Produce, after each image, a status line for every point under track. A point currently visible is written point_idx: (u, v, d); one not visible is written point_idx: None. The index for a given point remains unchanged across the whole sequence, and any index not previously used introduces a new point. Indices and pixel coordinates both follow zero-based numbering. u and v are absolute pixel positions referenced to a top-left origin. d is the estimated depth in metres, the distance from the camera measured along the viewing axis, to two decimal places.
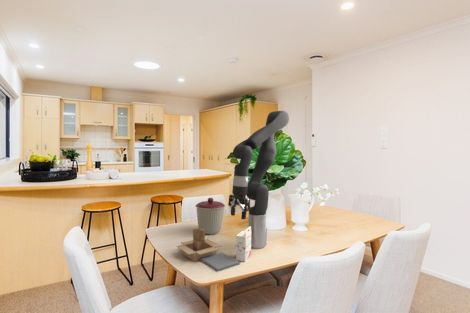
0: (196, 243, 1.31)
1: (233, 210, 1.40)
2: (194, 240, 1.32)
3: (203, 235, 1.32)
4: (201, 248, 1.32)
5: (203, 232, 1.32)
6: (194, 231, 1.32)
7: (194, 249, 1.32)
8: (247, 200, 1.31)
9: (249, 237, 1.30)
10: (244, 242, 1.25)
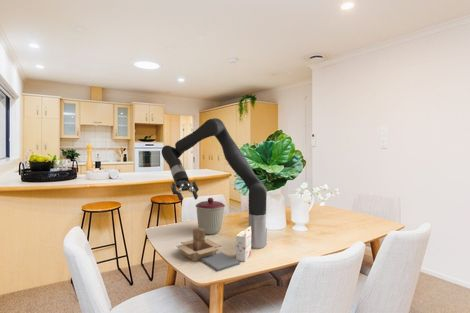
0: (196, 243, 1.31)
1: (194, 194, 1.45)
2: (194, 240, 1.32)
3: (203, 235, 1.32)
4: (201, 248, 1.32)
5: (203, 232, 1.32)
6: (194, 231, 1.32)
7: (194, 249, 1.32)
8: (171, 185, 1.42)
9: (249, 237, 1.30)
10: (244, 242, 1.25)
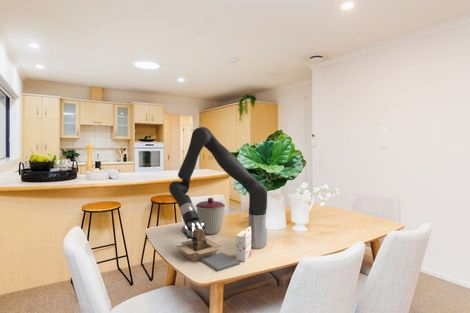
0: None
1: None
2: None
3: (203, 235, 1.32)
4: (201, 248, 1.32)
5: (203, 232, 1.32)
6: (194, 231, 1.32)
7: (194, 249, 1.32)
8: (182, 230, 1.32)
9: (249, 237, 1.30)
10: (244, 242, 1.25)
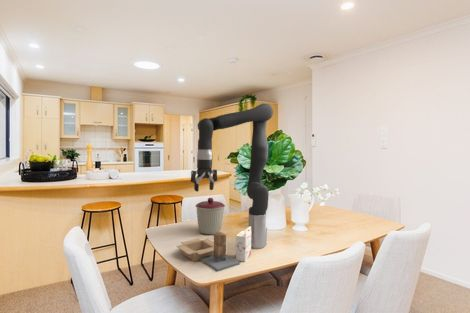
0: (217, 249, 1.22)
1: (210, 184, 1.40)
2: (215, 245, 1.24)
3: (224, 240, 1.23)
4: (222, 254, 1.23)
5: (225, 237, 1.23)
6: (215, 235, 1.24)
7: (215, 255, 1.24)
8: (192, 172, 1.34)
9: (249, 237, 1.30)
10: (244, 242, 1.25)
